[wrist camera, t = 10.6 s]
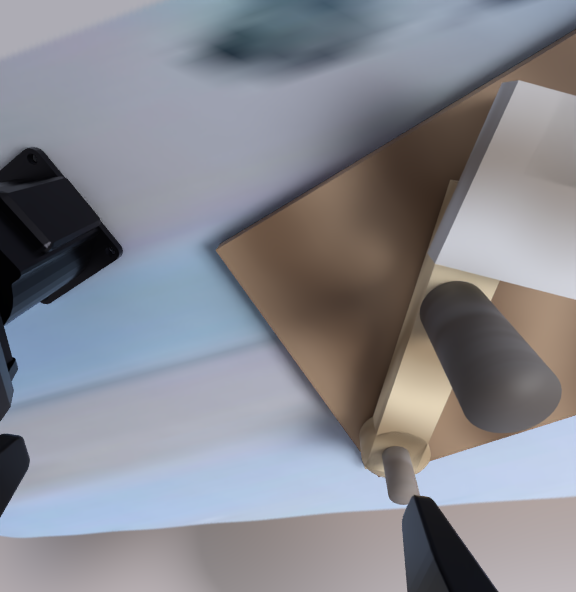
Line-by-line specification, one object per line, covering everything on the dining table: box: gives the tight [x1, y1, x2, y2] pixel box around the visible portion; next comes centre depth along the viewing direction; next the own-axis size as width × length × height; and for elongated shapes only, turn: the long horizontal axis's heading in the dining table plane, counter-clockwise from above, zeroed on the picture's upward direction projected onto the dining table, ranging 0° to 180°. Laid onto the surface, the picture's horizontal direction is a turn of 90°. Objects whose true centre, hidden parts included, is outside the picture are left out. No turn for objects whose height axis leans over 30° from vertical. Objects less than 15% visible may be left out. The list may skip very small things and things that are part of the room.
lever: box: [359, 180, 562, 505], centre depth 17 cm, size 18×4×8 cm, turn 173°
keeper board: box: [216, 29, 576, 477], centre depth 18 cm, size 19×19×5 cm
